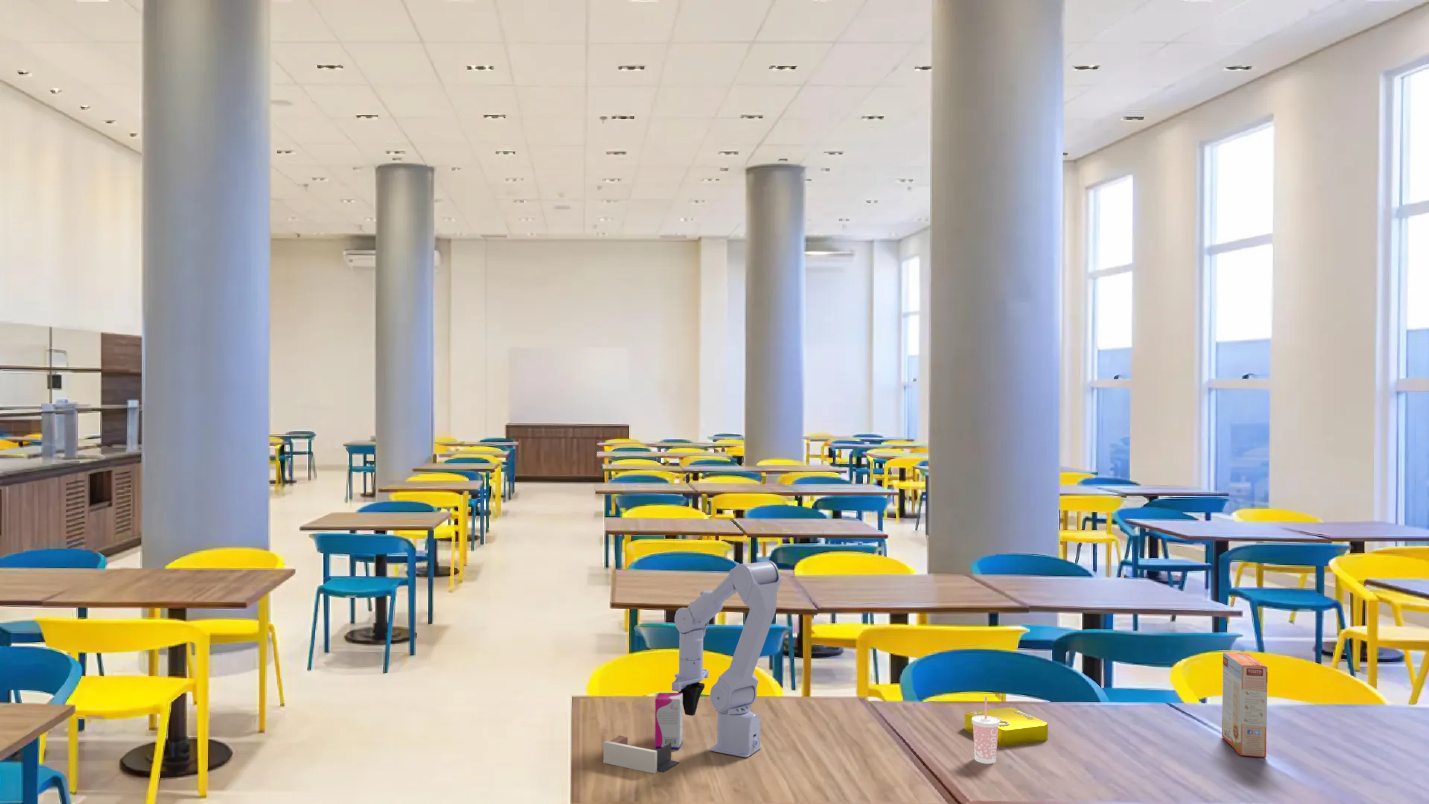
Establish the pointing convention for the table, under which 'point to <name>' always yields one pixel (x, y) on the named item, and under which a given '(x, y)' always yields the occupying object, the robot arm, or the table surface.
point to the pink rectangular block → (620, 740)
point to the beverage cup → (985, 737)
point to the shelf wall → (630, 757)
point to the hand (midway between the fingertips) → (690, 714)
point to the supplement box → (669, 720)
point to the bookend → (665, 759)
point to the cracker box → (1244, 704)
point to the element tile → (1012, 726)
